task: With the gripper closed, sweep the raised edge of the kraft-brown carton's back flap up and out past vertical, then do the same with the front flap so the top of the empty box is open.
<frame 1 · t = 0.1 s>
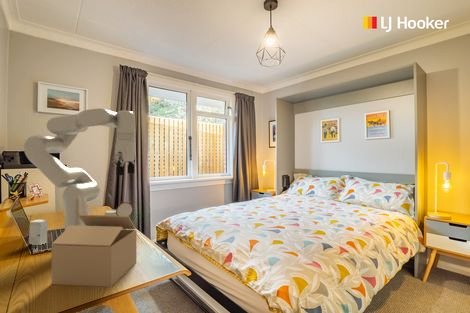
hand: (125, 174, 109), 37 cm above the table, tool pointing down, fingers open, 9 cm apart
front flap: (89, 235, 85), point 16 cm above the table, hinge at 25.0°
back flap: (107, 222, 97), point 18 cm above the table, hinge at 50.0°
coffee cup: (112, 231, 138), on the table
magnifying glass: (124, 239, 125), on the table
carton: (97, 272, 91), on the table
skincare box: (38, 245, 117), on the table
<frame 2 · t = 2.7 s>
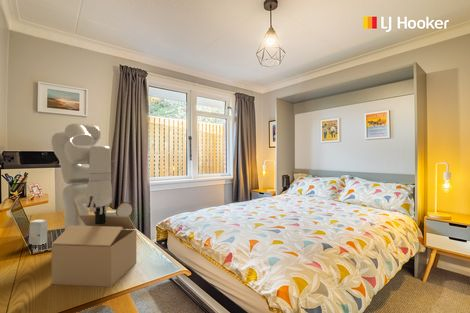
hand: (100, 223, 92), 19 cm above the table, tool pointing down, fingers closed
back flap: (107, 222, 97), point 18 cm above the table, hinge at 49.9°, touching gripper
everything else where it was.
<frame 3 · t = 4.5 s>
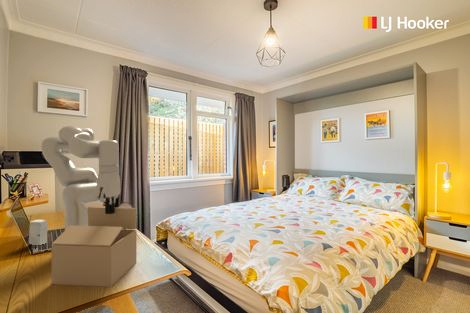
hand: (110, 213, 97), 21 cm above the table, tool pointing down, fingers closed
back flap: (111, 218, 100), point 19 cm above the table, hinge at 88.8°, touching gripper
everything else where it was.
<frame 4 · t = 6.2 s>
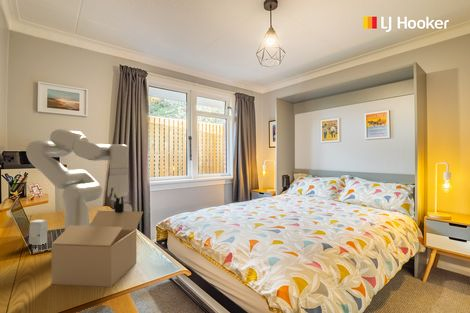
hand: (119, 212, 105), 20 cm above the table, tool pointing down, fingers closed
back flap: (116, 219, 103), point 17 cm above the table, hinge at 139.5°, touching gripper
everything else where it was.
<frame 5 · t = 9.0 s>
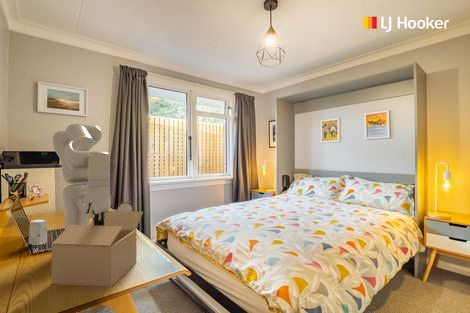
hand: (98, 229, 91), 17 cm above the table, tool pointing down, fingers closed
front flap: (88, 235, 85), point 16 cm above the table, hinge at 26.9°, touching gripper
back flap: (116, 219, 103), point 17 cm above the table, hinge at 139.8°
everything else where it was.
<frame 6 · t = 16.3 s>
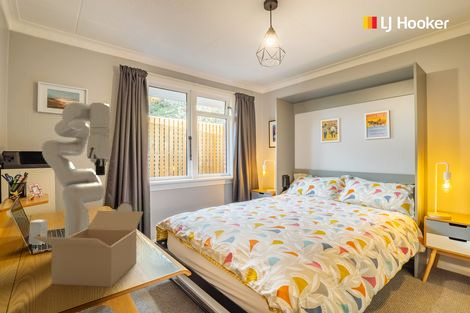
hand: (100, 175, 99), 37 cm above the table, tool pointing down, fingers closed
front flap: (73, 242, 78), point 17 cm above the table, hinge at 142.7°
everything else where it was.
at the end: back flap at +140° (first picture: +50°); front flap at +143° (first picture: +25°) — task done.
